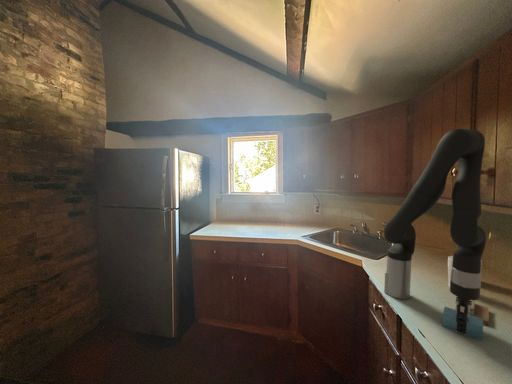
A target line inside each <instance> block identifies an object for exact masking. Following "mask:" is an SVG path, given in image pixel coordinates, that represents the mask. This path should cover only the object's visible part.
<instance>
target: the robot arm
mask: <svg viewBox="0 0 512 384" xmlns="http://www.w3.org/2000/svg"><path fill="white" fill-rule="evenodd" d="M485 146H486V138H485V135H484V134H483V133H482V132H481V131H479V130H477V129H472V128H469V129H468V128H455V129H451V130H450V131H448V132H446V133H445V134H444V135H442V137H441V139H440V140H439V142H438V143H437V146H436V148H435V149H434V152H433V153H432V156H431V158H430V160H429V162H428V163H427V165H426V166H425V168H424V170H423V171H422V173H421V174H420V176H419V178H418V180H417V181H416V182H415V183H414V185H413V186H412V188H411V190H410V191H409V193H407V194H408V195H407V196H406V198H405V199H404V201H403V202H402V204H401V205H400V207H399V209H398V210H397V211H396V213H395V214H394V215H393V216H392V218H391V219H390V220H389V221H388V222H387V224H386V225H385V226H384V229H383V237H384V240H386V241H387V242H388V243H390V244H392V245H391V246H390V247H389V248H388V249H387V251H386V252H387V253H386V271H385V272H384V289H383V290H384V291H383V293H386V294H388V295H389V296H390V297H392V298H395V299H397V300H398V299H399V300H407V299H410V297H411V282H412V280H411V278H412V261H413V260H412V257H413V255H414V254H415V253H414V252H415V248H416V237H417V235H416V234H417V233H416V229H415V227H414V226H413V223H414V222H415V221H416V220H418V218H420V217H422V216H423V215H424V214H426V213H427V212H428V211H430V210H431V209H433V207H434V206H435V205H436V203H437V202H438V201H439V199H440V198H441V197H442V195H443V193H444V192H445V189H446V186H447V179H448V175H449V173H450V172H451V170H452V169H453V167H454V166H455V164H456V163H458V164H457V167H458V168H457V175H456V179H455V182H454V184H453V187H452V194H451V202H452V205H451V206H452V218H451V223H450V230H449V231H450V237H451V239H452V242H453V243H455V244H456V245H457V248H456V250H455V251H454V252H453V255H452V256H453V263H452V270H451V279H450V288H449V292H450V293H451V294H452V295H454V296H456V297H455V305H456V306H455V308H456V313H457V318H456V322H457V331H458V332H457V333H459V332H460V334H462V335H464V334H466V324H467V318H468V317H469V315H470V309H471V305H472V301H471V300H475V301H478V300H479V299H480V297H481V287H482V274H481V275H480V271H481V260H482V256H483V254H484V251H485V247H486V243H487V233H486V230H484V228H482V227H481V226H480V225H478V220H479V218H480V217H481V215H482V200H481V199H482V198H481V176H482V165H483V158H484V152H485ZM481 272H482V271H481ZM459 316H461V317H463V318H465V320H464V319H461V318H459Z"/></svg>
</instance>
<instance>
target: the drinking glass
mask: <svg viewBox="0 0 512 384" xmlns="http://www.w3.org/2000/svg"><path fill="white" fill-rule="evenodd" d="M452 263H453V255H448V256H447V279H448V284H447V287H448V288H449V289H450V279H451V270H452Z"/></svg>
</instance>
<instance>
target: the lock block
mask: <svg viewBox="0 0 512 384" xmlns="http://www.w3.org/2000/svg"><path fill="white" fill-rule="evenodd" d="M456 318H457V313H456V310H455V309H453V308H450V307H448V306H444V309H443V312H442V323H441V324H442V326H441V327H444V328H446V329H448V330H452V331H454V332H456V331H457V322H456ZM459 318H461V319H464V320H465V318H463V317H461V316H459ZM483 332H484V324H483V319H482V318H479V317H476V316H473V315H469V317H468V318H467V324H466V334H465V335H464V336H467V337H470V338H472V339H476V340H477V341H480V342H482V341H483V334H484V333H483ZM457 333H460V332H458V331H457ZM460 334H461V333H460Z"/></svg>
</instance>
